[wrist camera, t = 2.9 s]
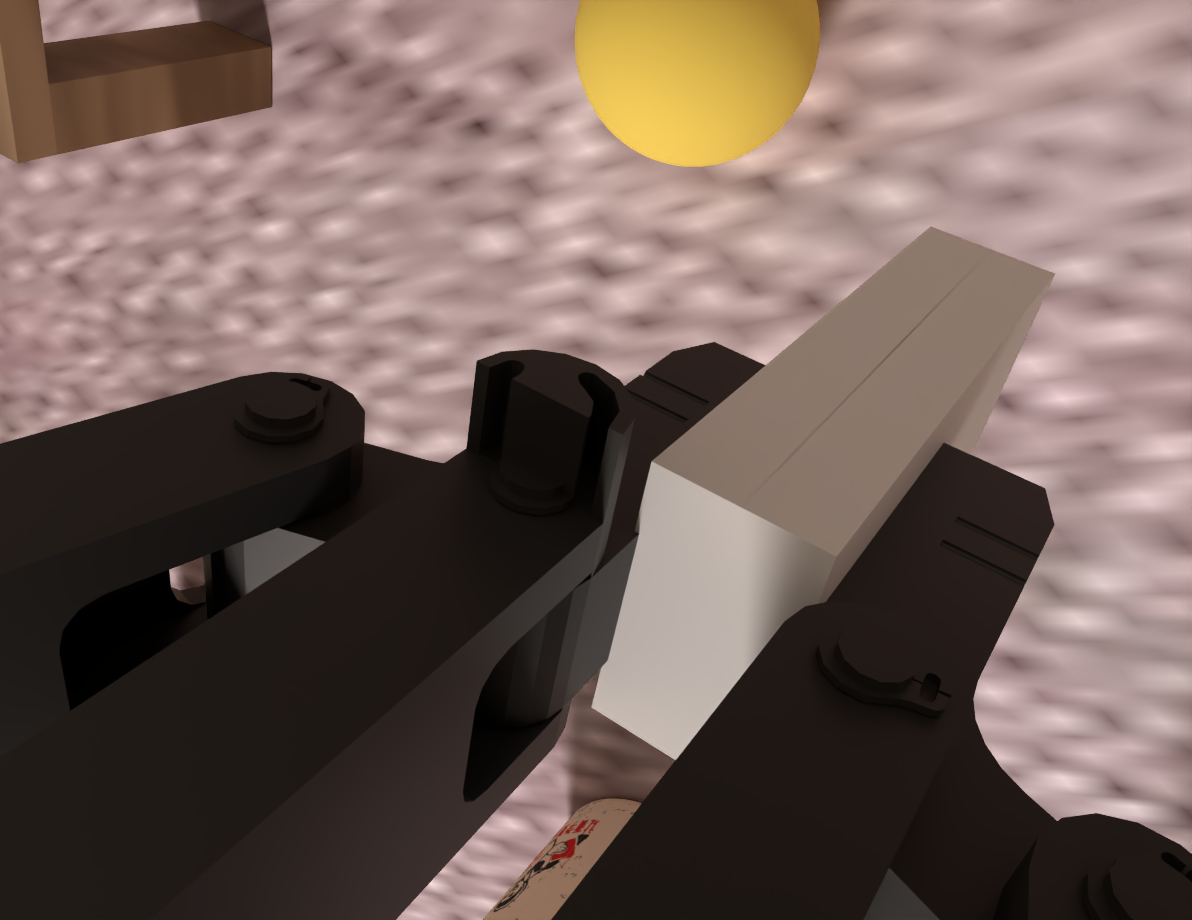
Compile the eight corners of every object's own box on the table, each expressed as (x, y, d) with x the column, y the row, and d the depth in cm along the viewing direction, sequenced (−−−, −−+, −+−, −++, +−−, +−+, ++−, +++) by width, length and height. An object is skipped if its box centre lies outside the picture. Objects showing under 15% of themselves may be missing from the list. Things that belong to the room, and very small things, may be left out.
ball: (889, -66, 24) (786, -51, 20) (817, 171, 27) (716, 227, 23) (677, -125, 26) (545, -122, 22) (634, 102, 29) (511, 142, 25)
